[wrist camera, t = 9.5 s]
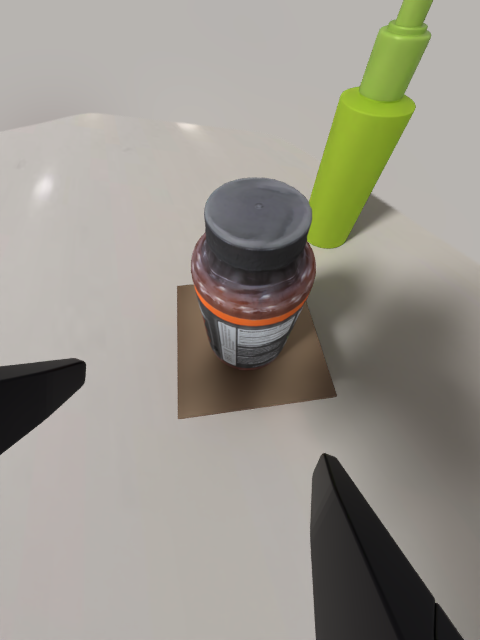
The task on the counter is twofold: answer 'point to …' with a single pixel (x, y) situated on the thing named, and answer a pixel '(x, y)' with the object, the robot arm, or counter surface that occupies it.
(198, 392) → the walnut stand
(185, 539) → the counter surface
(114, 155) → the counter surface
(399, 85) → the soap dispenser
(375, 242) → the counter surface
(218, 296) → the supplement bottle
